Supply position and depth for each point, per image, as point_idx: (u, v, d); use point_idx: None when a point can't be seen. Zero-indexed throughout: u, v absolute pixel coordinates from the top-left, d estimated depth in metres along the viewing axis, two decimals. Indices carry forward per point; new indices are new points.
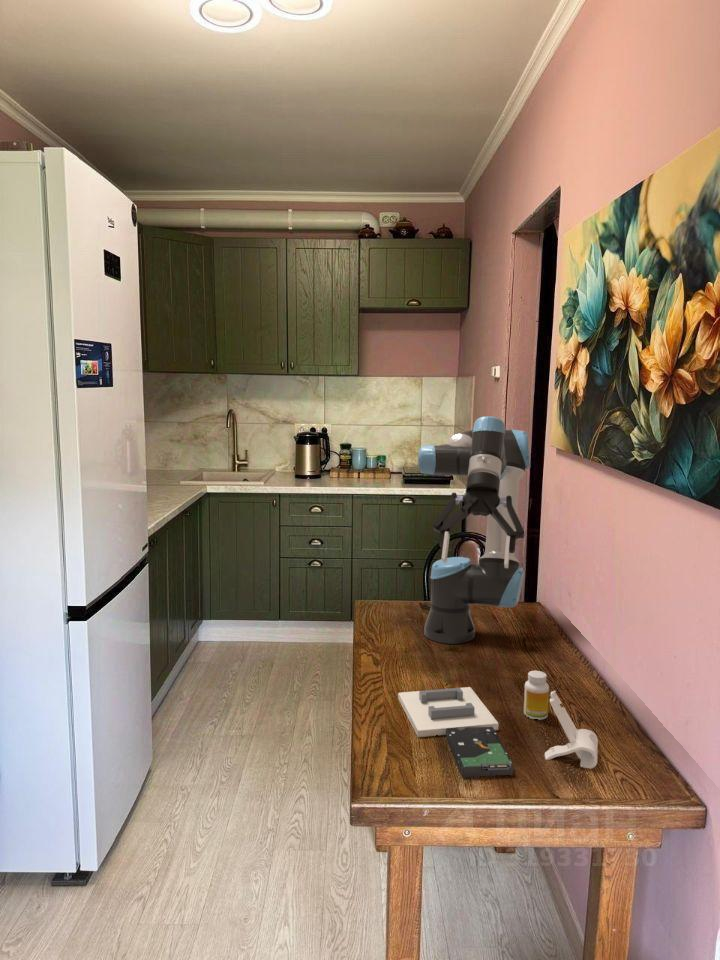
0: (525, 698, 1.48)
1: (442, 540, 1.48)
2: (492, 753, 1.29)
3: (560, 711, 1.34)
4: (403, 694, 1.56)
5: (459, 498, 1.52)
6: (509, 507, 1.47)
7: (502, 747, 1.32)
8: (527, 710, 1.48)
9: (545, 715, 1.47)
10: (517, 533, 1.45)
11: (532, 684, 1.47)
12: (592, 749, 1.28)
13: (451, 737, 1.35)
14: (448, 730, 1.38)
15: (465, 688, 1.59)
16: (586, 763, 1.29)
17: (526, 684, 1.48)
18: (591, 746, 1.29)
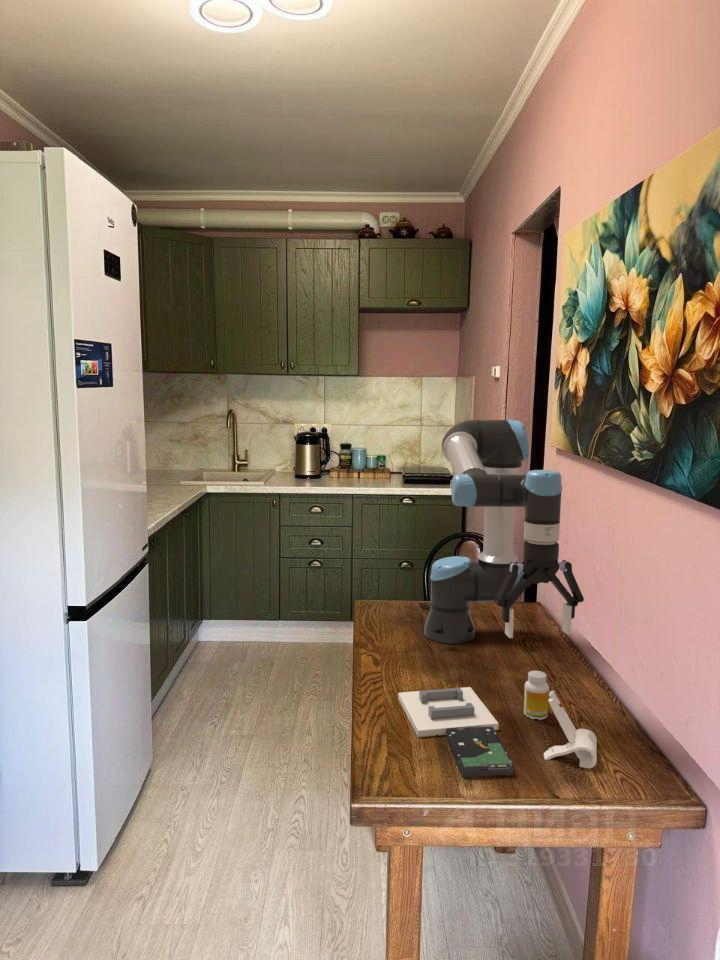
0: (525, 698, 1.48)
1: (507, 617, 1.44)
2: (492, 753, 1.30)
3: (559, 711, 1.34)
4: (403, 694, 1.56)
5: (519, 568, 1.44)
6: (570, 575, 1.45)
7: (502, 747, 1.32)
8: (527, 710, 1.48)
9: (545, 715, 1.47)
10: (576, 600, 1.47)
11: (532, 684, 1.47)
12: (591, 749, 1.28)
13: (451, 737, 1.35)
14: (448, 730, 1.38)
15: (465, 688, 1.59)
16: (585, 763, 1.29)
17: (526, 684, 1.48)
18: (591, 746, 1.29)
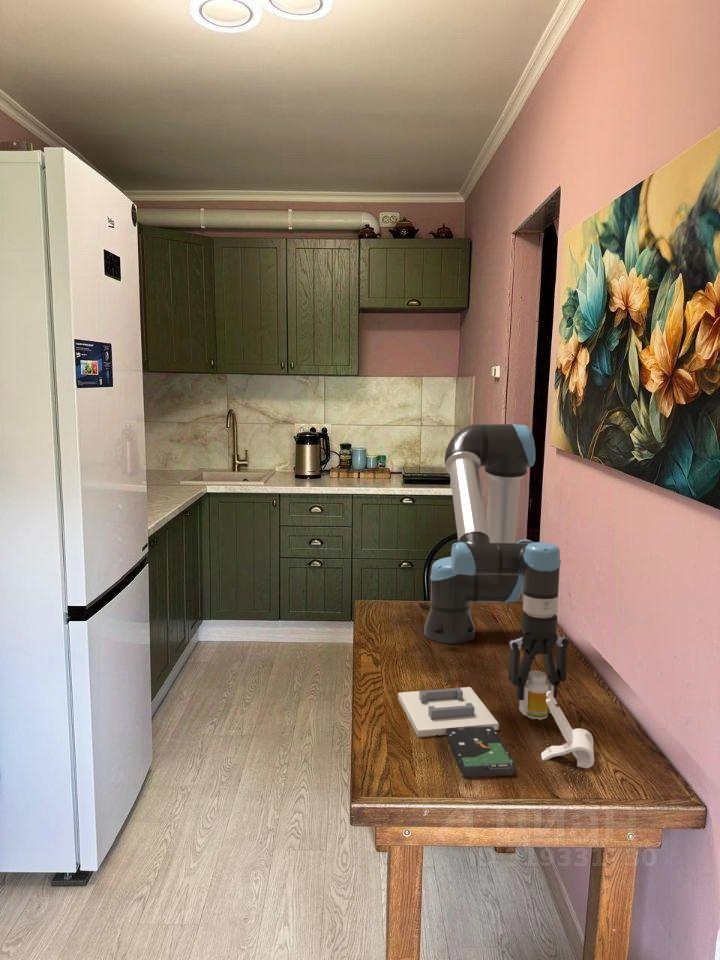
0: None
1: (522, 695, 1.47)
2: (493, 753, 1.30)
3: (556, 711, 1.34)
4: (403, 694, 1.56)
5: (519, 643, 1.46)
6: (563, 652, 1.47)
7: (503, 746, 1.32)
8: None
9: (545, 715, 1.47)
10: (558, 679, 1.49)
11: (532, 684, 1.47)
12: (589, 749, 1.28)
13: (452, 737, 1.35)
14: (448, 730, 1.38)
15: (465, 688, 1.59)
16: (583, 763, 1.29)
17: (526, 684, 1.48)
18: (588, 745, 1.29)
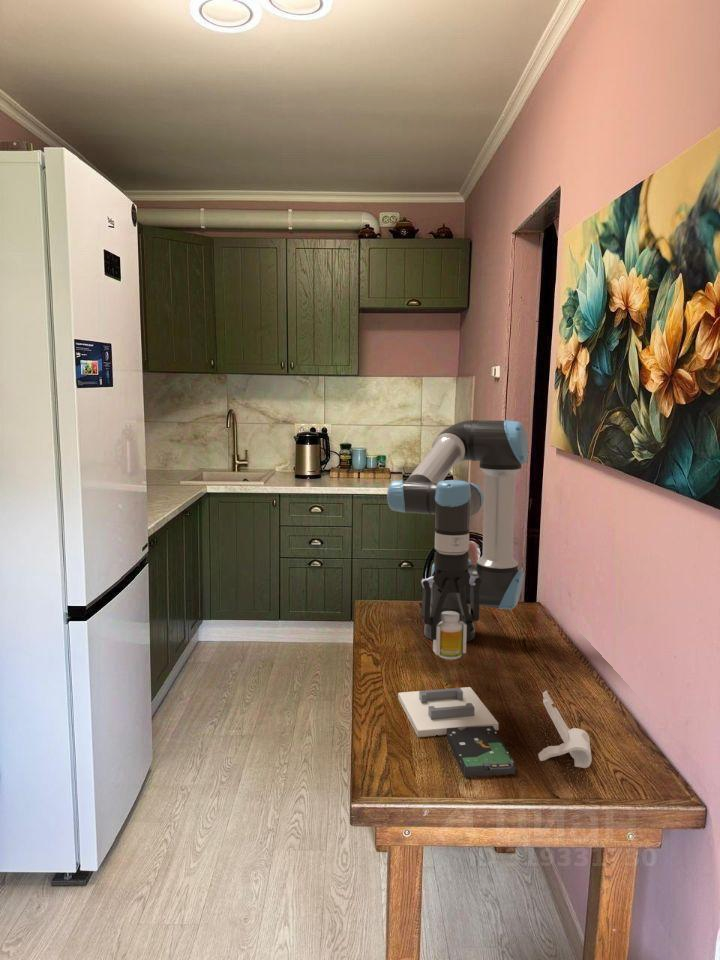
0: None
1: (434, 634, 1.46)
2: (493, 753, 1.30)
3: (553, 711, 1.34)
4: (403, 694, 1.56)
5: (431, 582, 1.44)
6: (475, 591, 1.46)
7: (503, 746, 1.32)
8: (440, 650, 1.46)
9: (458, 655, 1.46)
10: (472, 619, 1.47)
11: (444, 623, 1.46)
12: (586, 748, 1.28)
13: (452, 737, 1.35)
14: (449, 730, 1.38)
15: (465, 688, 1.59)
16: (580, 763, 1.29)
17: (439, 624, 1.47)
18: (585, 745, 1.29)
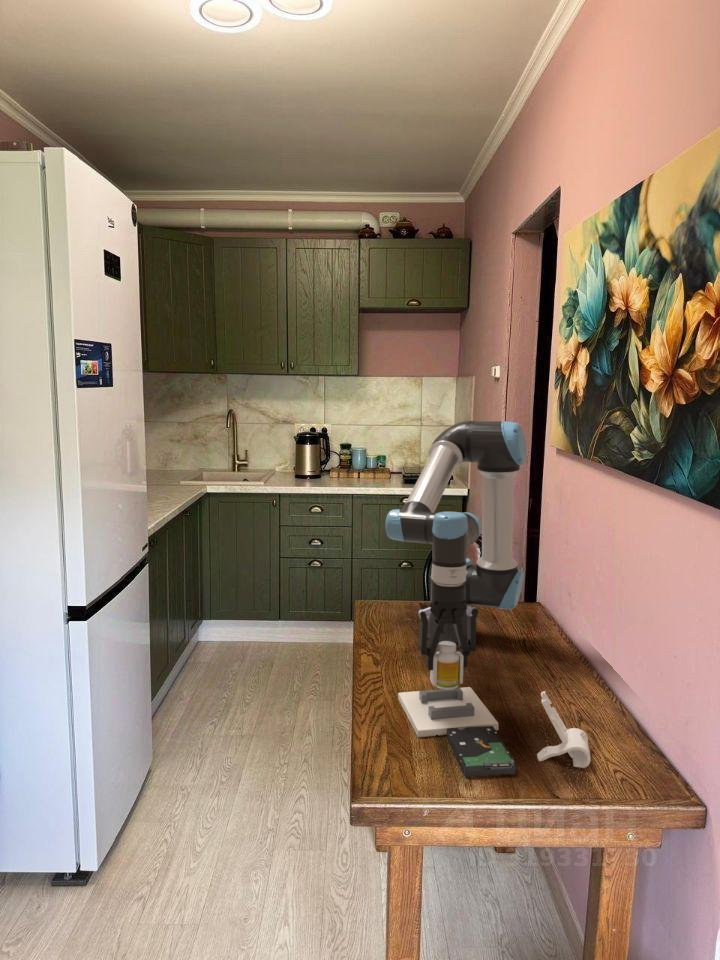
0: None
1: (431, 665, 1.47)
2: (494, 752, 1.30)
3: (551, 711, 1.34)
4: (403, 694, 1.56)
5: (428, 613, 1.45)
6: (472, 621, 1.47)
7: (503, 746, 1.32)
8: (437, 680, 1.47)
9: (454, 685, 1.46)
10: (469, 649, 1.48)
11: (441, 654, 1.47)
12: (585, 748, 1.28)
13: (452, 737, 1.35)
14: (449, 730, 1.38)
15: (465, 688, 1.59)
16: (579, 762, 1.29)
17: (436, 654, 1.48)
18: (584, 745, 1.29)
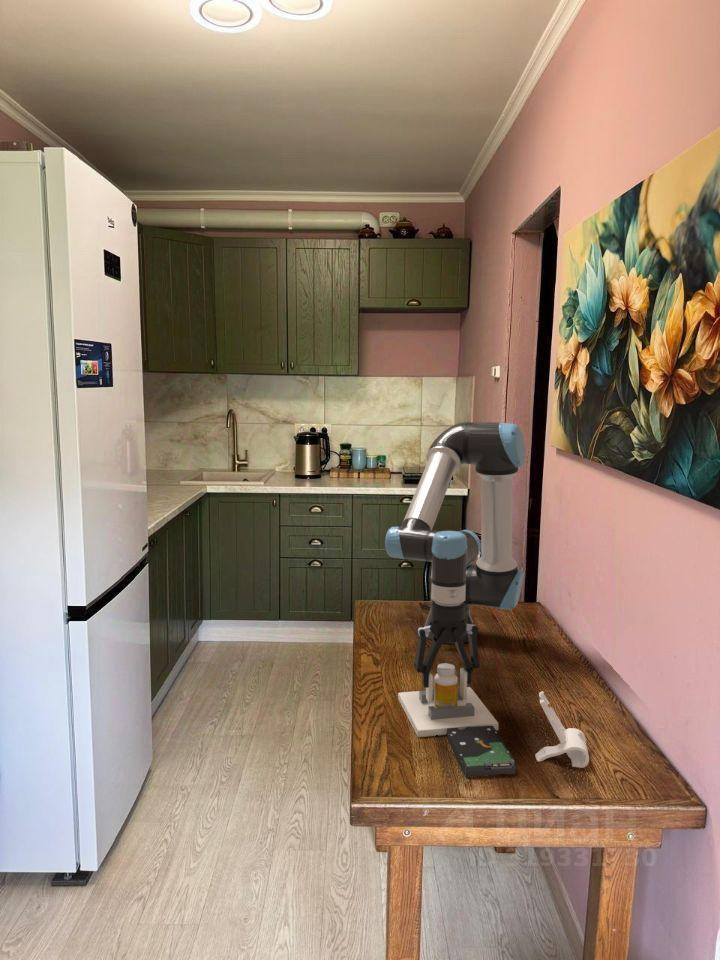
0: (434, 691, 1.49)
1: (426, 682, 1.47)
2: (494, 752, 1.30)
3: (549, 712, 1.34)
4: (403, 694, 1.56)
5: (427, 631, 1.46)
6: (473, 639, 1.47)
7: (504, 746, 1.32)
8: (436, 702, 1.48)
9: None
10: (472, 666, 1.49)
11: (440, 676, 1.47)
12: (584, 748, 1.28)
13: (452, 737, 1.36)
14: (449, 730, 1.38)
15: None
16: (577, 762, 1.29)
17: (435, 677, 1.49)
18: (582, 745, 1.29)
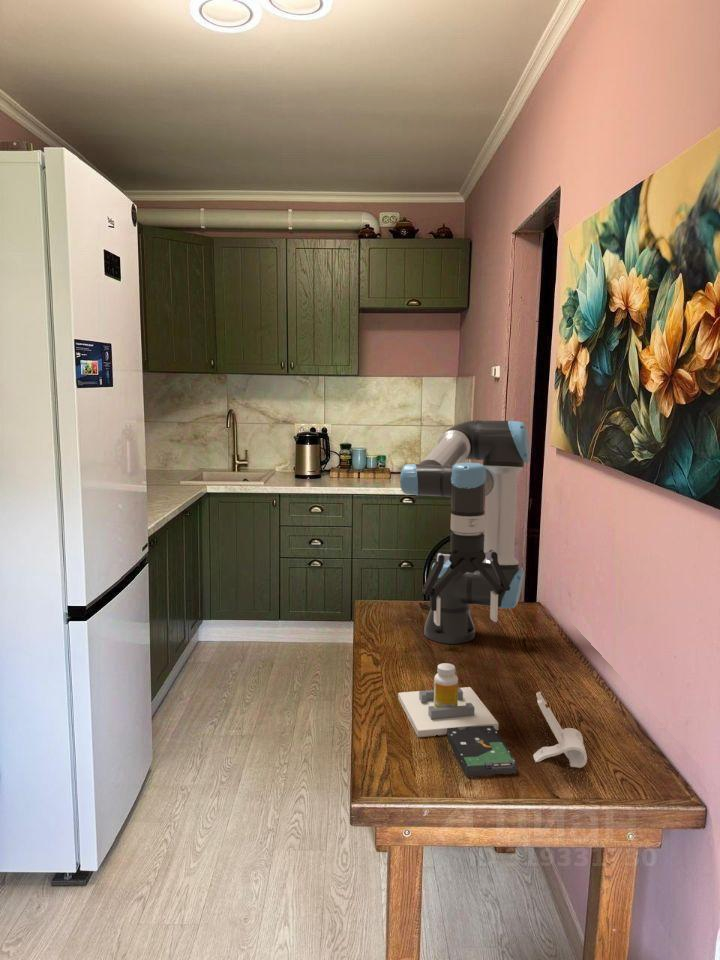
0: (434, 691, 1.49)
1: (434, 605, 1.49)
2: (495, 752, 1.30)
3: (546, 712, 1.34)
4: (403, 694, 1.56)
5: (446, 558, 1.48)
6: (495, 565, 1.49)
7: (504, 745, 1.32)
8: (436, 702, 1.48)
9: None
10: (503, 589, 1.51)
11: (440, 676, 1.47)
12: (582, 748, 1.28)
13: (453, 737, 1.36)
14: (449, 730, 1.38)
15: (465, 688, 1.59)
16: (575, 762, 1.29)
17: (435, 677, 1.48)
18: (580, 745, 1.29)
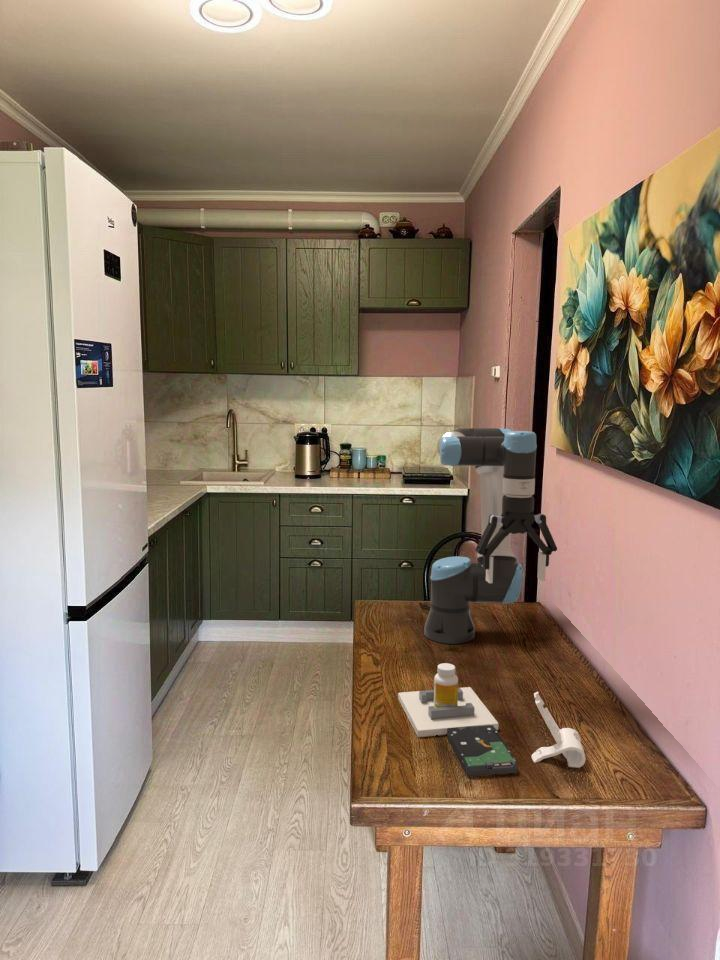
0: (434, 691, 1.49)
1: (487, 564, 1.59)
2: (495, 752, 1.30)
3: (544, 712, 1.34)
4: (403, 694, 1.56)
5: (498, 520, 1.58)
6: (544, 526, 1.60)
7: (504, 745, 1.32)
8: (436, 702, 1.48)
9: None
10: (550, 549, 1.62)
11: (441, 676, 1.47)
12: (580, 748, 1.28)
13: (453, 737, 1.36)
14: (449, 730, 1.38)
15: (465, 688, 1.59)
16: (574, 762, 1.29)
17: (435, 677, 1.48)
18: (578, 745, 1.29)
